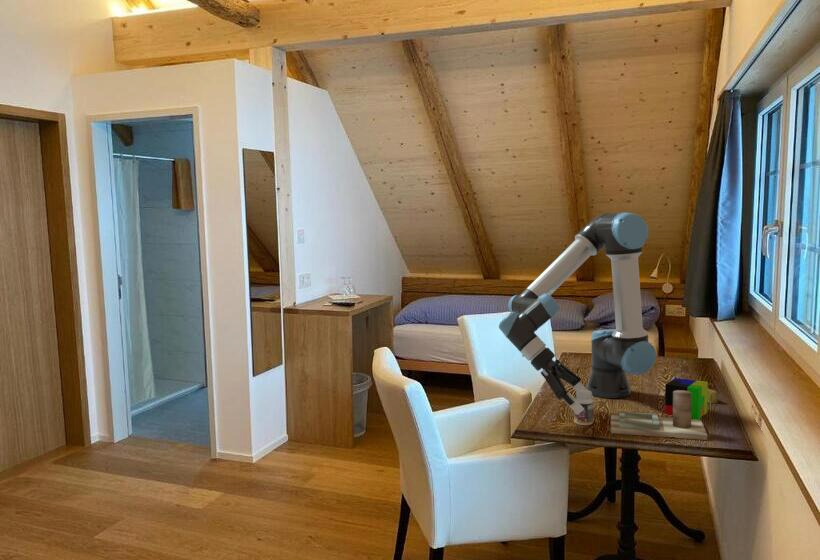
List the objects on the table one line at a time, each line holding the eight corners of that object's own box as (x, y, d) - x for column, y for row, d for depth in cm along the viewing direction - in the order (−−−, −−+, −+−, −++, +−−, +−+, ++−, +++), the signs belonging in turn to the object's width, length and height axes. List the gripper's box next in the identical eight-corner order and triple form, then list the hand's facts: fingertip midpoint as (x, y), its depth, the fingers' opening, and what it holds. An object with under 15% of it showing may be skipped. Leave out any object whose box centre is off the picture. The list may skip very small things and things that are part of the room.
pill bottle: (570, 423, 199) (570, 391, 198) (580, 418, 203) (580, 388, 202) (587, 427, 195) (587, 395, 194) (596, 422, 199) (596, 391, 198)
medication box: (688, 394, 228) (687, 383, 227) (694, 393, 228) (694, 382, 228) (711, 404, 216) (711, 392, 215) (718, 403, 216) (718, 391, 216)
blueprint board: (610, 418, 202) (611, 383, 201) (700, 424, 194) (701, 387, 193) (610, 433, 189) (610, 394, 188) (707, 440, 181) (707, 400, 180)
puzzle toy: (675, 407, 213) (675, 377, 212) (707, 412, 206) (707, 382, 205) (665, 414, 205) (665, 384, 204) (698, 420, 199) (698, 388, 198)
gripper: (541, 354, 216) (586, 402, 210) (517, 370, 194) (567, 425, 188) (556, 339, 213) (603, 388, 207) (534, 354, 191) (585, 409, 185)
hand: (586, 406), depth 198 cm, fingers open, 13 cm apart
